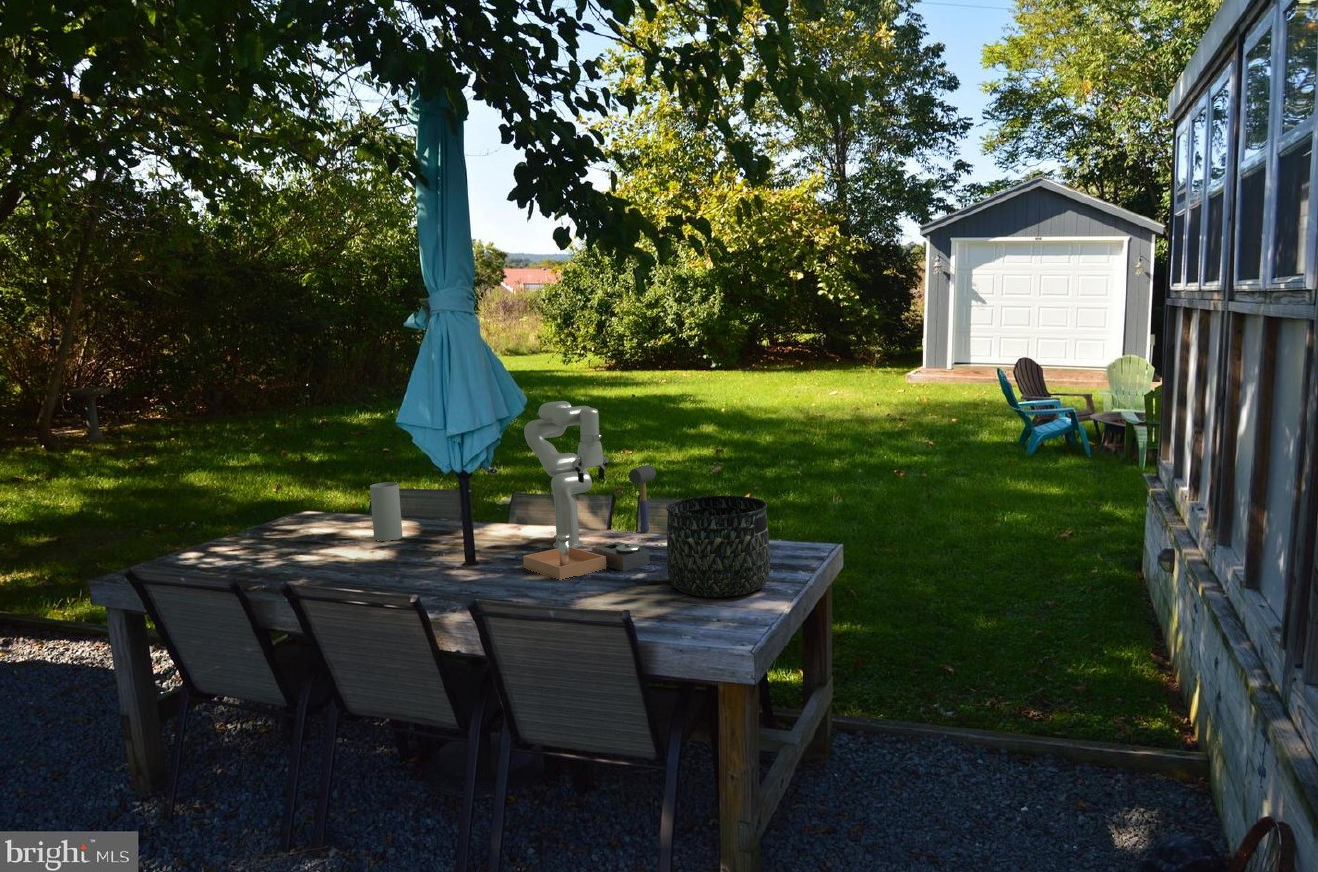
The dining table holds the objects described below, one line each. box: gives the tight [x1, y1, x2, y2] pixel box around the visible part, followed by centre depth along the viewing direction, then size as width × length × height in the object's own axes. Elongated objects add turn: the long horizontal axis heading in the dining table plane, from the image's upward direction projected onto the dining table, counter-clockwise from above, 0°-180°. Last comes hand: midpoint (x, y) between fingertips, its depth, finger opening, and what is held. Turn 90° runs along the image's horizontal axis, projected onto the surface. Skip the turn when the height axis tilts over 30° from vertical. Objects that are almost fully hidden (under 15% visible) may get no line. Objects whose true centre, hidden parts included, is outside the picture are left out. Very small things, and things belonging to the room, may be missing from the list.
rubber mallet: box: [628, 464, 657, 534], centre depth 455 cm, size 12×8×30 cm, turn 146°
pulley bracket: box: [591, 541, 650, 572], centre depth 404 cm, size 20×13×8 cm, turn 39°
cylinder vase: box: [369, 481, 403, 542], centre depth 462 cm, size 12×12×25 cm
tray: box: [522, 546, 607, 581], centre depth 400 cm, size 26×22×5 cm
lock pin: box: [555, 533, 570, 567], centre depth 399 cm, size 5×5×12 cm
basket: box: [665, 494, 771, 598], centre depth 365 cm, size 37×37×30 cm
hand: (591, 480), depth 415 cm, fingers open, 9 cm apart
